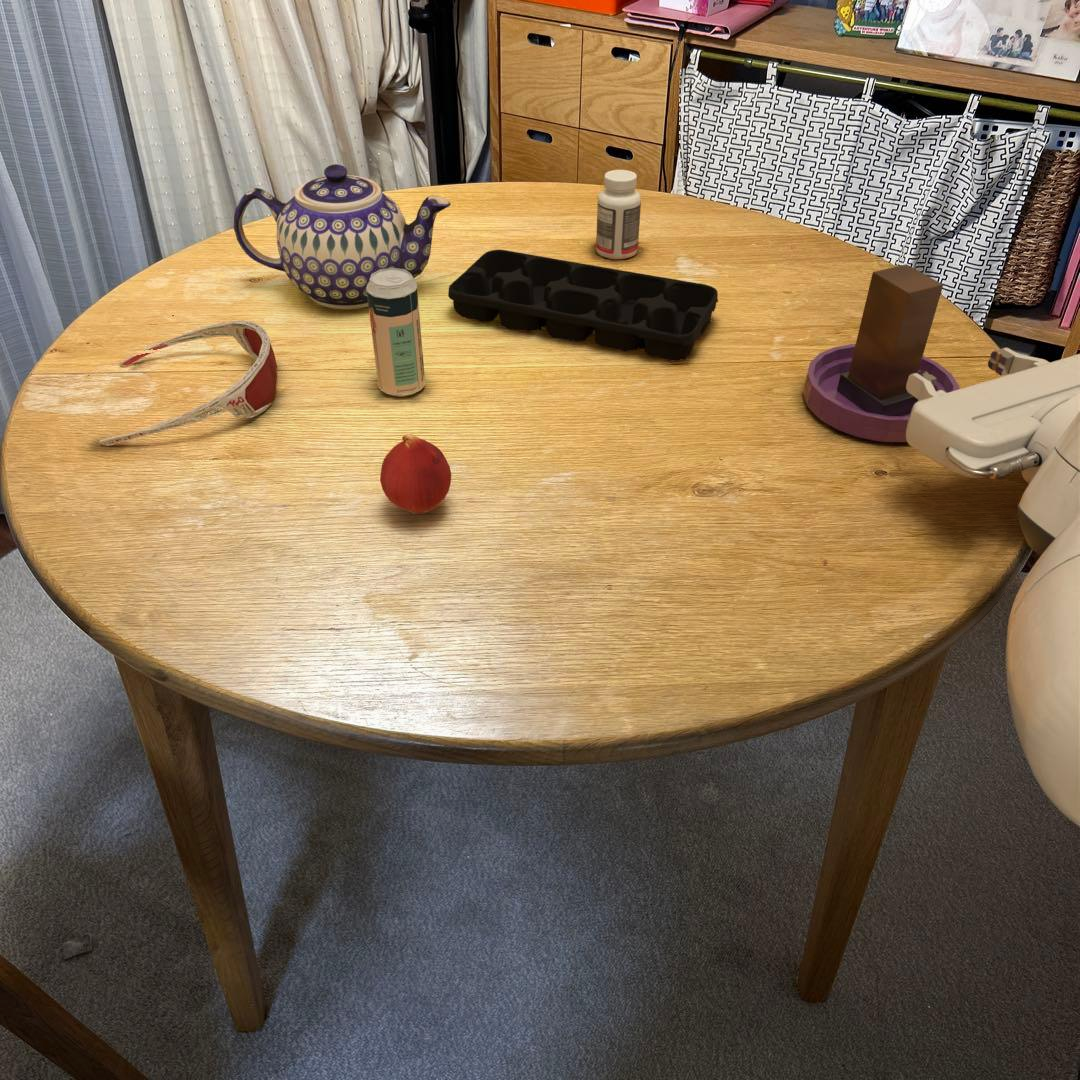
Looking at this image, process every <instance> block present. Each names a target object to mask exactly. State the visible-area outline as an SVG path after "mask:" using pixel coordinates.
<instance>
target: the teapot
mask: <svg viewBox="0 0 1080 1080" xmlns="http://www.w3.org/2000/svg"><path fill="white" fill-rule="evenodd" d="M323 175H324V176H321V177H317V178H314V179H312V180H309V181H306V182H304V183H302V184H300V186H298V187H297V188H296V189H295V190H294V196H293V197H292V198H291V199H289V200H288V201H287V202H282V201H280V200H279V199H278V198H276V197H275V196H274V195H273V194H271V193H269V192H268V191H266V190H265V189H263V188H258V187H254V188H251V189H249V191H247V192H245V193H244V194H243V196H242V197H240V199H239V201H238V204H237V205H236V207H235V210H234V214H233V231H234V234H235V238H236V240H237V243H238V244H239V246H240V248H241V249H242V251H243V252H244V253H245V254H246V255H247V256H248V257H249V258H250V259H252V260H253V261H255V262H257V263H258V264H260V265H263V266H264V267H267V268H270V269H274V270H276V271H280V272H283V273H285V274H286V276H287V278H288V279H289V281H290V282H291V284H292V285H293V286H294V287H296V288H297V289H298V290H299V291H301V292H302V293H303V294H304V295H306V296H308V297H309V298H310V299H311V301H313V302H314V303H315V304H317V305H319V306H321V307H323V308H328V309H333V310H344V311H345V310H348V311H349V310H358V309H363V308H369V306H368V298H367V290H366V287H367V284H368V283H369V281H370V277H371V274H372V273H374V272H376V271H378V270H380V269H388V268H398V269H405V270H406V271H408V272H409V273H411V275H412V277H413V278H414V279H415V278H417V277H418V276H420V275H422V273H423V271H424V270H425V269H426V267H427V265H428V264H429V260H430V257H431V250H432V242H433V233H434V225H435V220H436V218H437V214H439V213H440V212H442V211H444V210H445V209H447V208H449V207H450V206H451V205H452V203H451V202H450V201H449V200H448V199H446V198H445V197H441V196H438V195H429V196H426V198H425V199H424V200H422V203H421V204H420V207H419V209H418V210H417V213H416V217H415V220H413V221H411V222H410V223H409V224H408V223H407V221H406V218H405V216H404V213H403V212H402V210H401V208H400V207H399V206H398V204H397V203H396V202H395V201H394V200H393V199H392V198H391V197H389V196H388V195H386V194H385V193H384V192H383V191H382V188H381V186H380V185H379V184H378V183H377V182H375V181H374V180H372V179H370V178H366V177H363V176H359V175H349V174H348V169H347V168H346V167H345V166H344V165H342V164H336V163H335V164H330V165H328V166H327V167H325V168H324V170H323ZM253 200H258V201H261V202H263V203H264V204H265V205H266V207H268V209H269V210H270V211H269V212H270V213H271V215H272V218H273V219H274V221H275V224H276V244H277V251H278V255H279V257H278V258H277V257H276V258H274V257H271V256H268V255H265V254H263V253H261V252H260V251H259V250H257V248H255V246H253V244H252V243H251V242H250V241H249V239H248V238H247V236H246V234H245V230H244V227H243V218H244V214H245V212H246V209H247V207H248V206H249V204H250V203H251V202H252V201H253Z"/></svg>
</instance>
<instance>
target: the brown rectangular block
mask: <svg viewBox="0 0 1080 1080" xmlns="http://www.w3.org/2000/svg"><path fill="white" fill-rule="evenodd" d="M943 287H944V284H943V283H941V282H939V281H938V280H936V279H934V278H932V277H931V276H928V275H927V274H925V273H923V272H922V271H920V270H918V269H916V268H915V267H913V266H911V265H909V264H907V263H905V264H901V265H896V266H892V267H889V268H884V269H881V270H876V271H872V274H871V278H870V281H869V287H868V290H867V295H866V300H865V304H864V307H863V311H862V316H861V320H860V324H859V328H858V332H857V336H856V341H855V344H856V345H855V349H854V353H853V357H852V361H851V366H850V370H849V372H845V373H842V374H840V379H839V383H838V387H837V391H838V392H839V393H841V394H842V395H843V396H845V397H846V398H847V399H849V400H850V401H851V402H853V403H854V404H855V405H857V406H858V407H860V408H861V409H862V410H864V411H865V412H867V413H873V414H879V415H885V416H904V415H907V414H910V413H911V410H912V408H913V406H914V404H915V403H916V402H918V399H917V398H915V397H914V396H913V395H911V394H910V393H908V392H907V390H906V384H907V381H908V377H909V375H911V374H914V373H918V370H919V367H920V363H921V360H922V357H923V356H924V352H925V349H926V346H927V343H928V339H929V337H930V332H931V329H932V327H933V326H932V325H933V322H934V318H935V314H936V311H937V308H938V305H939V301H940V299H941V295H942V291H943V289H944V288H943Z"/></svg>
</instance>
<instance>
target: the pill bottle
mask: <svg viewBox="0 0 1080 1080" xmlns="http://www.w3.org/2000/svg"><path fill="white" fill-rule="evenodd" d="M603 177H604V178H603V187H604V189H603V190H602V191H600V193H599V194H598V196H597V203H596V204H597V207H596V210H597V213H596V236H595V237H596V238H595V250H596V251H595V252H596V253H597V254H598V255H599V256H601V257H603V258H606V259H609V260H625V259H630V258H632V257H634V256H635V255H636V254H637V253H638V251H639V241H640V240H639V239H640V238H639V237H640V223H641V207H642V197H641V194H640V193H639V192H638V191H637V190H636V189H637V185H638V175H637V173H636V172H634V171H631V170H628V169H627V170H626V169H613V170H608V171H607V172H605V174H604V176H603Z"/></svg>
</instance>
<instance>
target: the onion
mask: <svg viewBox="0 0 1080 1080" xmlns="http://www.w3.org/2000/svg"><path fill="white" fill-rule="evenodd" d="M401 439H402V441H400V442H398V443H397V444H395V445H394V446H393V447H392V448H391V449H390V451H388V453H387V454H386V455H385V457H384V458H383V460H382V463H381V469H380V475H379V477H380V478H379V482H380V485H381V489H382V491H383V493H384V495H385V497H386V498H387V499H388V501H389V502H390V503H392V504H393V505H394V506H396V507H398V508H399V509H402V510H404V511H408V512H410V513H413V514H414V515H422V514H424V513H425V514H426V513H427V512H430V511H433V510H435V508H437V507H439V505H440V504H442V503H443V502H444V500H445V499H446V497H447V495H448V493H449V491H450V488H451V483H452V471H451V467H450V464H449V462H448V460H447V458H446V456H445V454H444V453H443V452H442V450H441V449H440V448H439V447H438V446H436V445H435V444H433V443H431V442H429V441H427V440H425V439H423V438H420V437H417V436H415V435H414V434H413V433H407V434H404V435H403V436H401Z"/></svg>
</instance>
